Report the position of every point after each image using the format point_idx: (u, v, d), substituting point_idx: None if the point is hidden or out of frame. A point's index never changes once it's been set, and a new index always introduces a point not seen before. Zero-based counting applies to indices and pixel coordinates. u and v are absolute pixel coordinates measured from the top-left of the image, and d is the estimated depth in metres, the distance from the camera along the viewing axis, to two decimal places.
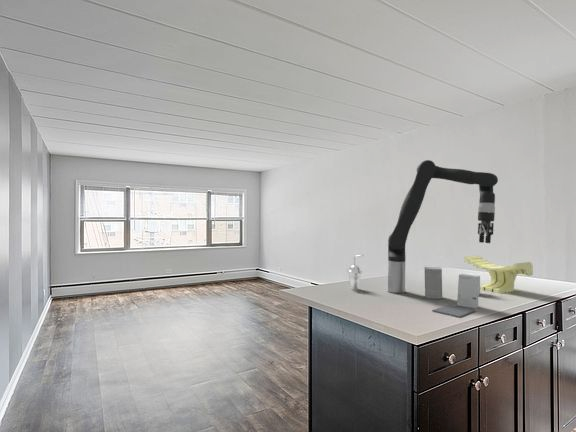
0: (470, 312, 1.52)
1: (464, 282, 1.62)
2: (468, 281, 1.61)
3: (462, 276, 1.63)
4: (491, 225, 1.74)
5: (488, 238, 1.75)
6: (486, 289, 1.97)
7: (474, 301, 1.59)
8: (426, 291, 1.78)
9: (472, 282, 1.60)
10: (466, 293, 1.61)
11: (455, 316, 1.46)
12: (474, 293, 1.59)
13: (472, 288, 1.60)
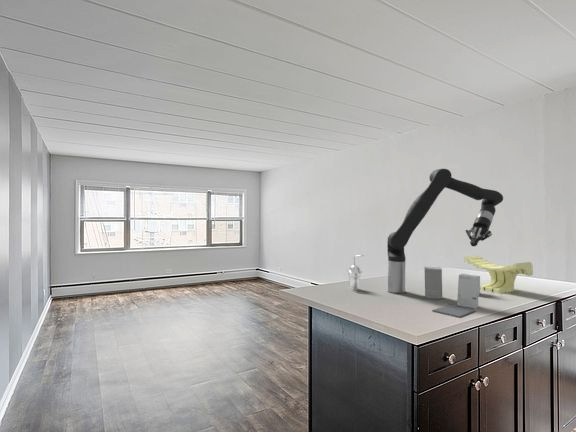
0: (470, 312, 1.52)
1: (464, 282, 1.62)
2: (468, 281, 1.61)
3: (462, 276, 1.63)
4: (489, 235, 1.75)
5: (477, 241, 1.76)
6: (486, 289, 1.97)
7: (474, 301, 1.59)
8: (426, 291, 1.78)
9: (472, 282, 1.60)
10: (466, 293, 1.61)
11: (455, 316, 1.46)
12: (474, 293, 1.59)
13: (472, 288, 1.60)
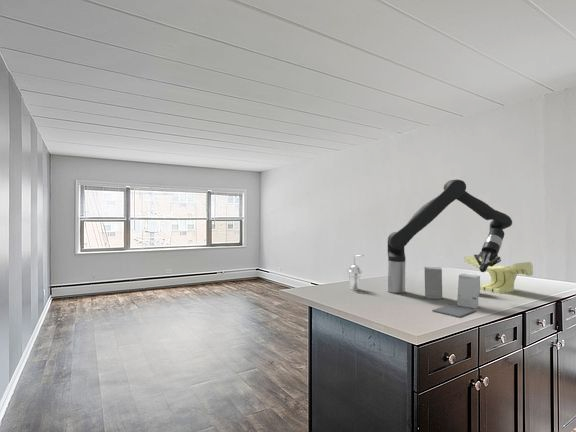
0: (470, 312, 1.52)
1: (464, 282, 1.62)
2: (468, 281, 1.61)
3: (462, 276, 1.63)
4: (498, 260, 1.72)
5: (486, 267, 1.73)
6: (486, 289, 1.97)
7: (474, 301, 1.59)
8: (426, 291, 1.78)
9: (472, 282, 1.60)
10: (466, 293, 1.61)
11: (455, 316, 1.46)
12: (474, 293, 1.59)
13: (472, 288, 1.60)
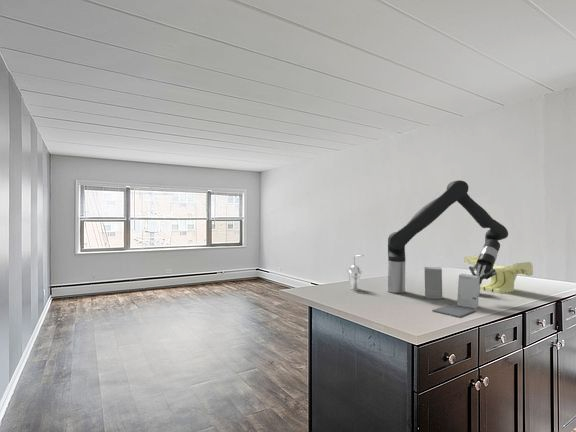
0: (470, 312, 1.52)
1: (464, 282, 1.62)
2: (468, 281, 1.61)
3: (462, 276, 1.63)
4: (493, 273, 1.69)
5: (481, 280, 1.69)
6: (486, 289, 1.97)
7: (474, 301, 1.59)
8: (426, 291, 1.78)
9: (472, 282, 1.60)
10: (466, 293, 1.61)
11: (455, 316, 1.46)
12: (474, 293, 1.59)
13: (472, 288, 1.60)
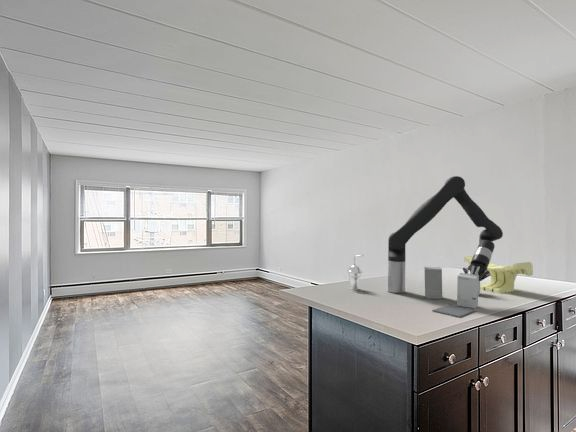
0: (470, 312, 1.52)
1: (463, 283, 1.61)
2: (467, 282, 1.60)
3: (461, 277, 1.61)
4: (488, 275, 1.64)
5: None
6: (486, 289, 1.97)
7: (474, 301, 1.59)
8: (426, 291, 1.78)
9: (471, 283, 1.59)
10: (465, 294, 1.61)
11: (455, 316, 1.46)
12: (473, 294, 1.58)
13: (471, 289, 1.59)
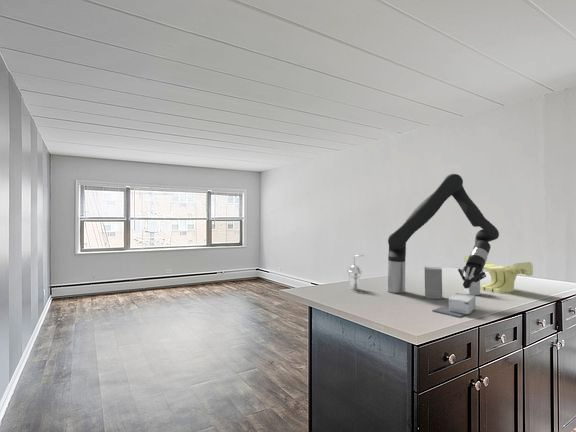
0: (470, 312, 1.52)
1: None
2: None
3: (453, 311, 1.52)
4: (483, 276, 1.61)
5: (470, 283, 1.62)
6: (486, 289, 1.97)
7: None
8: (426, 291, 1.78)
9: None
10: None
11: (455, 316, 1.46)
12: None
13: None
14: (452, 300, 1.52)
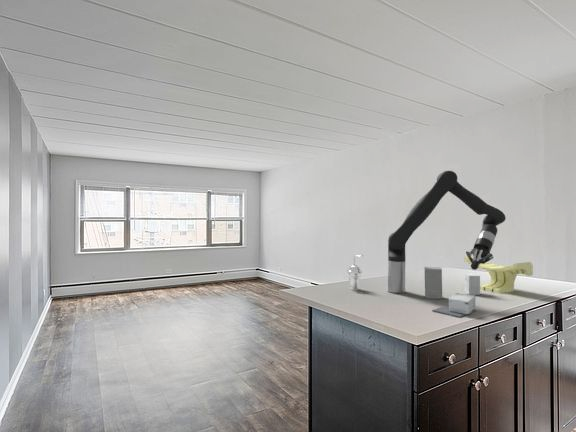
0: (470, 312, 1.52)
1: None
2: None
3: (453, 311, 1.52)
4: (490, 258, 1.66)
5: (477, 264, 1.66)
6: (486, 289, 1.97)
7: None
8: (426, 291, 1.78)
9: None
10: None
11: (455, 316, 1.46)
12: None
13: None
14: (452, 300, 1.52)
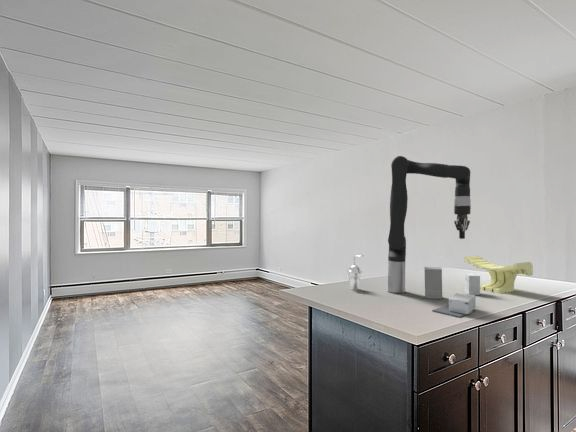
0: (470, 312, 1.52)
1: None
2: None
3: (453, 311, 1.52)
4: (457, 223, 1.75)
5: (460, 234, 1.78)
6: (486, 289, 1.97)
7: None
8: (426, 291, 1.78)
9: None
10: None
11: (455, 316, 1.46)
12: None
13: None
14: (452, 300, 1.52)
